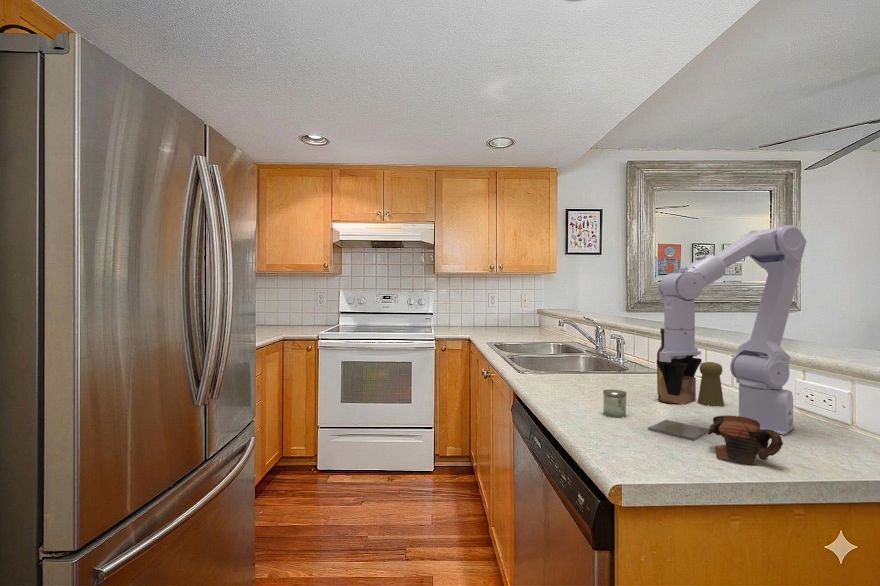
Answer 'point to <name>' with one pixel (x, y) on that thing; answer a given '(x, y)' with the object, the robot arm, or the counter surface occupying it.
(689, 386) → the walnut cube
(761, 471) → the counter surface
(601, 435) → the counter surface
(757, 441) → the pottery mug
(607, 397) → the green spice tin
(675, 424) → the slate tile
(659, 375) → the sauce bottle
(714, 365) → the cork
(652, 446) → the counter surface
